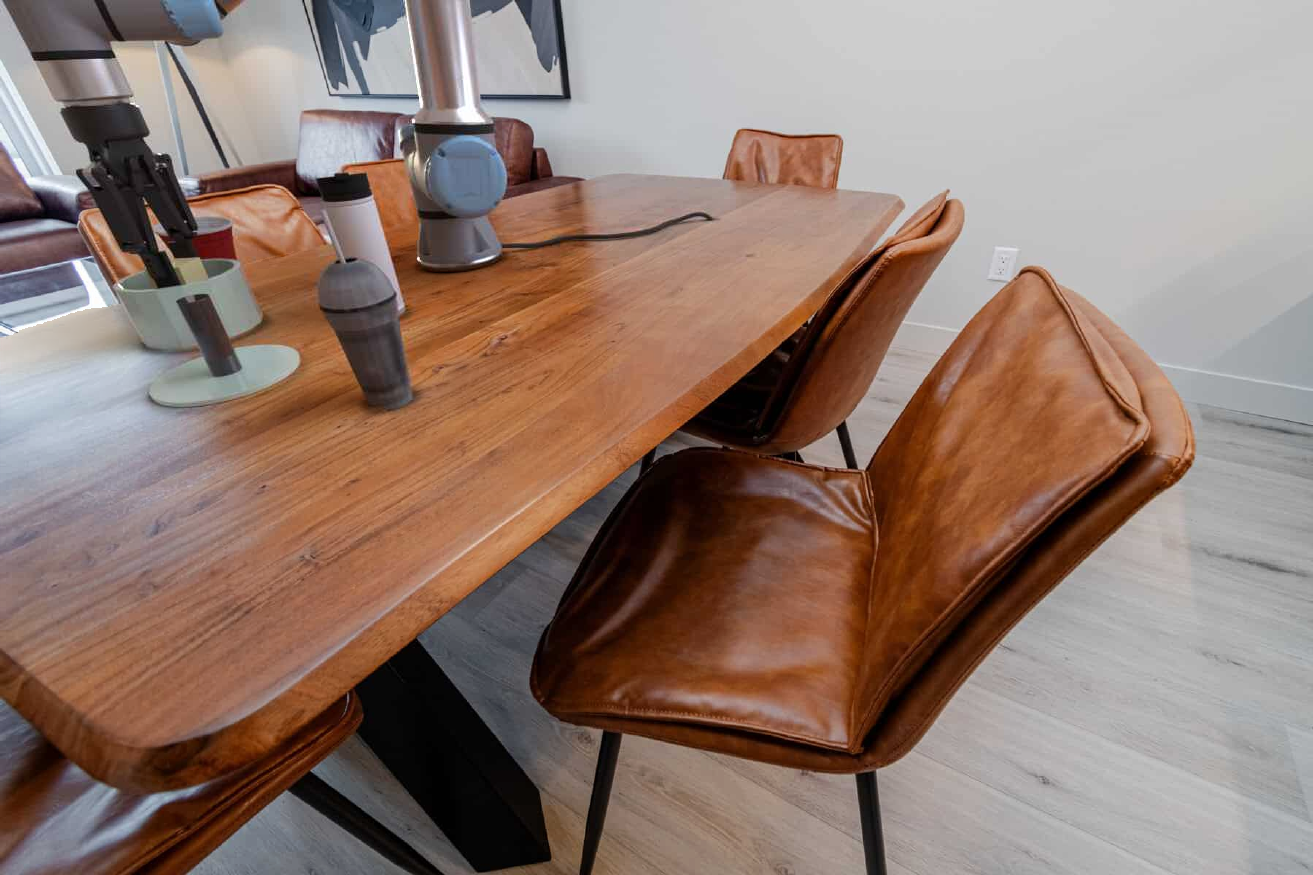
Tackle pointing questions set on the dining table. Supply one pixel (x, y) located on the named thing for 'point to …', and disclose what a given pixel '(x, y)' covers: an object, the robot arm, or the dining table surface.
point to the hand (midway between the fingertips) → (188, 293)
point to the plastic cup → (208, 237)
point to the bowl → (158, 307)
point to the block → (185, 270)
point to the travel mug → (357, 222)
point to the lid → (219, 363)
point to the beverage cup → (366, 325)
